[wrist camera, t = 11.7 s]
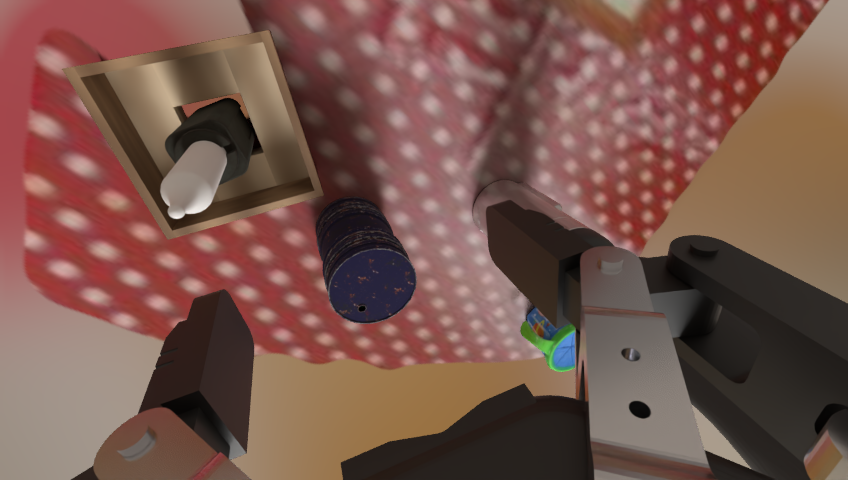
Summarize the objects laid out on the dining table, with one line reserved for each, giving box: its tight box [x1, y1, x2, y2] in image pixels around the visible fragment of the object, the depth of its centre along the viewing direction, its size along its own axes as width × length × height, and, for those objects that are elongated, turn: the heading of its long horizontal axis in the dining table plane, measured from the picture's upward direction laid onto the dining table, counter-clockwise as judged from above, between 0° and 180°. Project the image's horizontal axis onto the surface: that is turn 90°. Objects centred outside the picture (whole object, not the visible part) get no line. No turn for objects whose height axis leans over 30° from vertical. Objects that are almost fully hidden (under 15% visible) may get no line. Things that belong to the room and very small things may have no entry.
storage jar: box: [316, 197, 417, 324], centre depth 46 cm, size 10×10×15 cm
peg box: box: [62, 30, 324, 240], centre depth 38 cm, size 16×16×8 cm
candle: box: [160, 98, 255, 219], centre depth 31 cm, size 5×5×25 cm
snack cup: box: [520, 307, 575, 372], centre depth 71 cm, size 16×10×10 cm
